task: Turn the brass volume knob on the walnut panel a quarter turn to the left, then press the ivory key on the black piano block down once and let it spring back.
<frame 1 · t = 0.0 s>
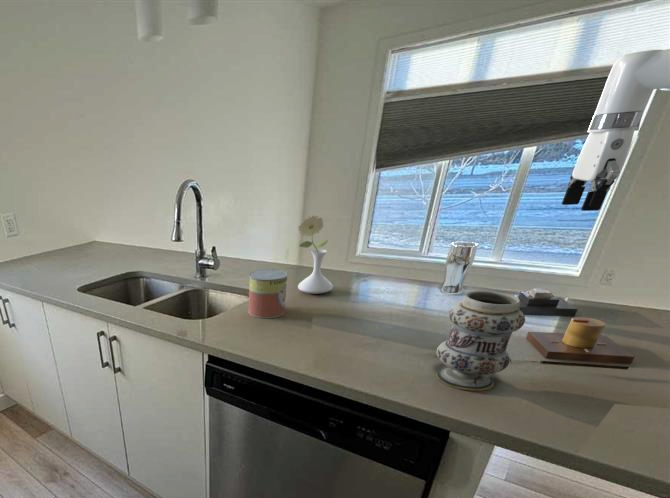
hand: (579, 207, 97), 27 cm above the worktop, tool pointing down, fingers open, 9 cm apart
volume panel: (571, 355, 90), on the worktop
dial: (583, 331, 87), point 6 cm above the worktop, hinge at 0.0°
beer glass: (450, 292, 130), on the worktop
canned food: (266, 312, 128), on the worktop
piano block: (533, 309, 113), on the worktop
apothecary jar: (463, 380, 85), on the worktop
key: (540, 293, 111), point 4 cm above the worktop, slide at 0.1 cm
flower in vase: (312, 292, 141), on the worktop
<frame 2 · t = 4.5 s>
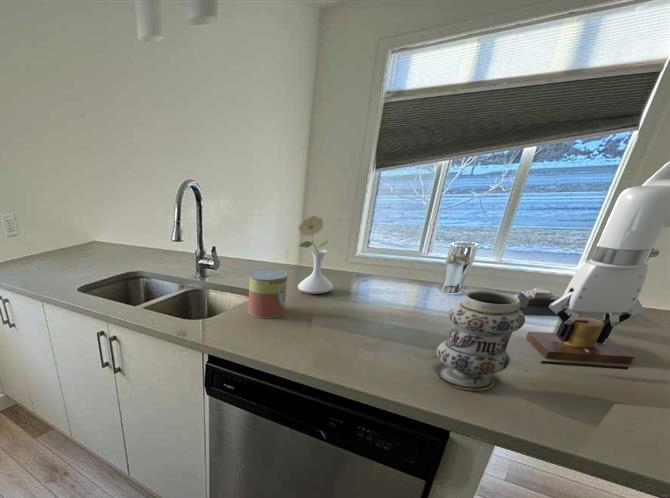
hand: (579, 339, 88), 4 cm above the worktop, tool pointing down, fingers closed on dial, 5 cm apart
dial: (583, 331, 87), point 6 cm above the worktop, hinge at -0.1°, touching gripper
everything else where it was.
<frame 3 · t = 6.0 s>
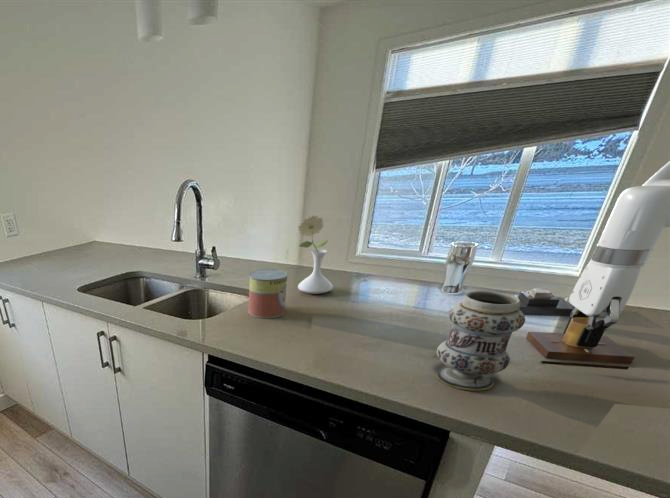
hand: (579, 339, 88), 4 cm above the worktop, tool pointing down, fingers closed on dial, 5 cm apart
dial: (583, 331, 87), point 6 cm above the worktop, hinge at 89.3°, touching gripper
everything else where it was.
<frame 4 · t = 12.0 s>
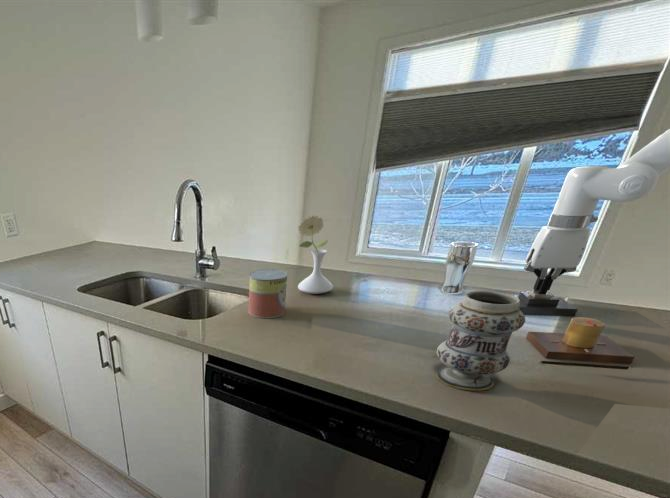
hand: (539, 292, 111), 5 cm above the worktop, tool pointing down, fingers closed
dial: (583, 331, 87), point 6 cm above the worktop, hinge at 90.6°
key: (539, 295, 111), point 4 cm above the worktop, slide at -0.5 cm, touching gripper
everything else where it was.
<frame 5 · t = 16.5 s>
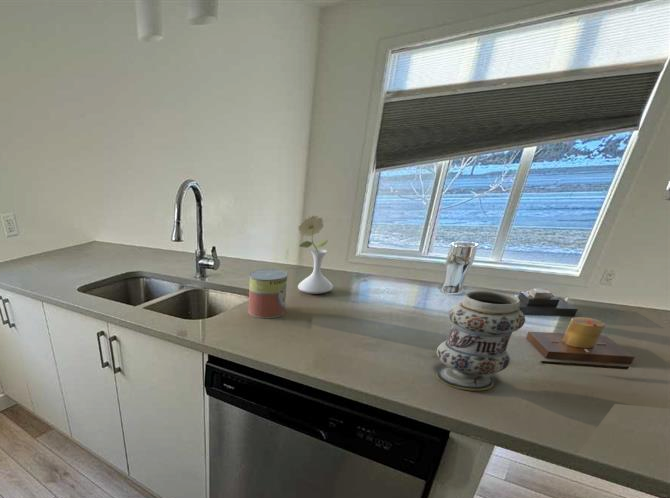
key: (540, 293, 111), point 4 cm above the worktop, slide at 0.1 cm
everything else where it was.
at the end: dial at +91° (first picture: +0°); key pushed in 1.1 cm at the most during the clip, back to where it started at the end; key slide at 0.1 cm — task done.
